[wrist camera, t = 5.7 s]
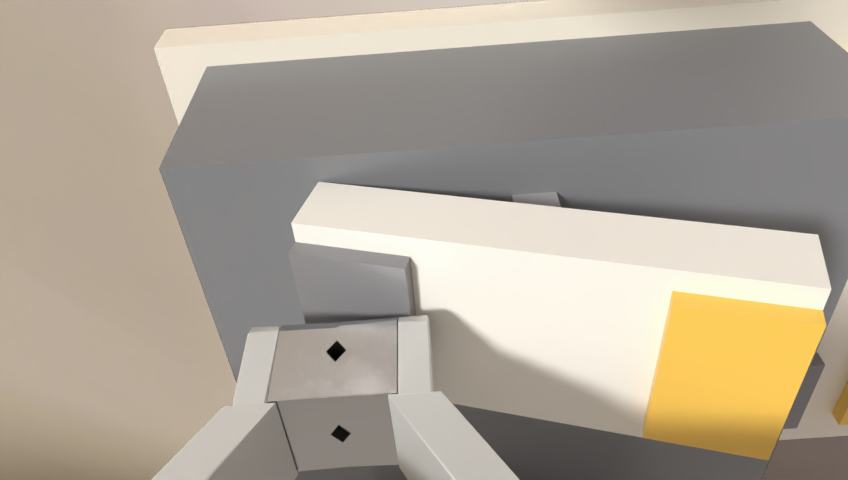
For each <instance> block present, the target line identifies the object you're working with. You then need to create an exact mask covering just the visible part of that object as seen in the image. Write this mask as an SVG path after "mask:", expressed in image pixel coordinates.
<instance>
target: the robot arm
mask: <svg viewBox="0 0 848 480" xmlns="http://www.w3.org/2000/svg"><path fill="white" fill-rule="evenodd" d="M379 465H399V468H400V469H401V471H402V472H403V474H404V475H405V477H406V478H407V480H519V478H518V477H517V476H516V475H515V474H514V473H513V472H512V471H511V469H510V468H509V467H508V466H507V465H506V464H505V463H504V461H503V460H502V459H501V458H500V457H499V456H498V455H497V454H496V452H495V451H494V450H493V449H492V448H491V447H490V446H489V444H488V443H487V442H486V441H485V440H484V439H483V438H482V436H481V435H480V434H479V433H478V432H477V431H476V430H475V429H474V427H473V426H472V425H471V424H470V423H469V422H468V421H467V419H466V418H465V417H464V416H463V415H462V414H461V413H460V412H459V410H458V409H457V408H456V407H455V406H454V405H453V404H452V402H451V401H450V400H449V399H448V398H447V397H446V396H445V394H444V393H443V392H442V391H436V392H435V384H434V373H433V361H432V349H431V337H430V326H429V317H428V315H422V316H409V317H399V319H398V317H397V318H384V319H372V320H360V321H347V322H340V323H320V324H299V325H282V326H268V327H252V328H251V330H250V332H249V333H248V335H247V340H246V344H245V349H244V353H243V358H242V362H241V367H240V371H239V376H238V380H237V385H236V389H235V394H234V398H233V403H232V405H231V406H223V407H222V408H221V409H220V410H219V411H218V412H217V413H216V414H215V415H214V416H213V417H212V418H211V419H210V420H209V421H208V422H207V423H206V424H205V425H204V426H203V427H202V428H201V429H200V430H199V431H198V432H197V433H196V434H195V435H194V436H193V437H192V438H191V439H190V440H189V441H188V442H187V444H186V445H185V446H184V447H183V448H182V449H181V450H180V451H179V452H178V453H177V454H176V455H175V456H174V457H173V458H172V459H171V460H170V461H169V462H168V463H167V464H166V465H165V466H164V467H163V468H162V469H161V470H160V471H159V472H158V473H157V474H156V475H155V476H154V477H153V478H152V479H151V480H295V478H296V477H297V475H298V473H297V472H298V471H308V470H319V469H329V468H340V467H354V466H379Z"/></svg>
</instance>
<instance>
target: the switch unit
mask: <svg viewBox="0 0 848 480" xmlns="http://www.w3.org/2000/svg"><path fill="white" fill-rule="evenodd" d="M154 50H155V53H156V56H157V59H158V62H159V65H160V69H161V72H162V75H163V78H164V81H165V84H166V87H167V90H168V93H169V96H170V99H171V102H172V106H173V109H174V112H175V115H176V118H177V121H178V124H179V127H178V129H177V131H176V133H175V135H174V138H173V140H172V142H171V144H170V146H169V148H168V150H167V153H166V155H165V157H164V159H163V161H162V163H161V165H160V167H159V170H160V172H161V175H162V178H163V181H164V184H165V186H166V189H167V192H168V195H169V197H170V200H171V203H172V206H173V208H174V211H175V214H176V217H177V220H178V222H179V225H180V228H181V231H182V233H183V236H184V239H185V242H186V244H187V247H188V250H189V253H190V256H191V258H192V261H193V264H194V267H195V269H196V272H197V275H198V278H199V280H200V283H201V286H202V289H203V292H204V294H205V297H206V300H207V303H208V305H209V308H210V311H211V314H212V316H213V319H214V322H215V325H216V328H217V330H218V333H219V336H220V339H221V341H222V344H223V347H224V350H225V352H226V355H227V358H228V361H229V364H230V366H231V369H232V372H233V375H234V377H235V380H236V383H237V380H238V376H239V371H240V367H241V362H242V358H243V353H244V349H245V344H246V340H247V335H248V333H249V332H250V330H251V328H252V327H268V326H282V325H299V324H305V320H304V316H303V312H302V308H301V304H300V300H299V295H298V291H297V287H296V283H295V279H294V275H293V271H292V267H291V263H290V259H289V255H288V253H289V251H290V250H291V248H292V247H293V245H294V243H295V238H294V233H293V229H292V225H291V222H292V221H293V219H294V218H295V216H296V215H297V213H298V212H299V210H300V209H301V207H302V206H303V204H304V203H305V201H306V200H307V198H308V197H309V195H310V194H311V192H312V191H313V189H314V188H315V186H316V185H317V183H318V182H326V183H335V184H345V185H354V186H364V187H373V188H383V189H392V190H402V191H411V192H420V193H430V194H439V195H449V196H458V197H468V198H477V199H487V200H496V201H505V202H515V203H524V204H534V205H543V206H553V207H562V208H572V209H581V210H591V211H600V212H609V213H619V214H628V215H638V216H647V217H657V218H666V219H676V220H685V221H694V222H704V223H713V224H723V225H732V226H742V227H751V228H761V229H770V230H779V231H789V232H798V233H808V234H817V235H818V236H819V240H820V244H821V248H822V252H823V256H824V260H825V264H826V268H827V272H828V276H829V280H830V285H831V289H832V290H831V292H830V294H829V297H828V299H827V302H826V304H825V306H824V309H823V313H824V317H825V321H826V328H825V330H824V332H823V335H822V337H821V339H820V342H819V344H818V346H817V349H816V351H815V353H814V356H813V358H812V360H811V363H810V365H809V367H808V370H807V372H806V374H805V377H804V379H803V381H802V384H801V386H800V388H799V391H798V393H797V395H796V398H795V400H794V402H793V405H792V407H791V409H790V412H789V414H788V416H787V419H786V421H785V423H784V426H783V428H782V430H781V433H780V435H779V437H778V440H791V439H806V438H821V437H836V436H848V0H546V1H533V2H519V3H506V4H493V5H480V6H467V7H454V8H441V9H427V10H414V11H401V12H388V13H375V14H362V15H348V16H335V17H322V18H309V19H296V20H283V21H270V22H256V23H243V24H230V25H217V26H204V27H191V28H178V29H166V30H165V31H164V33H163V34H162V36H161V38H160V39H159V41H158V42H157V44H156V46H155V47H154ZM453 405H454V406H455V407H456V408H457V409H458V410H459V412H460V413H461V414H462V415H463V416H464V417H465V418H466V419H467V421H468V422H469V423H470V424H471V425H472V426H473V427H474V429H475V430H476V431H477V432H478V433H479V434H480V435H481V436H482V438H483V439H484V440H485V441H486V442H487V443H488V444H489V446H490V447H491V448H492V449H493V450H494V451H495V452H496V454H497V455H498V456H499V457H500V458H501V459H502V460H503V461H504V463H505V464H506V465H507V466H508V467H509V468H510V469H511V471H512V472H513V473H514V474H515V475H516V476H517V477H518V478H519V480H762V477H763V475H764V473H765V470H766V468H767V466H768V463H769V461H770V459H771V456H772V454H773V452H774V449H775V447H776V445H777V442H778V440H777V442H776V444H775V447H774V449H773V451H772V454H771V456H770V458H769V460H763V459H757V458H752V457H746V456H741V455H735V454H730V453H724V452H718V451H713V450H707V449H702V448H696V447H691V446H685V445H679V444H674V443H668V442H663V441H657V440H652V439H646V438H642V437H636V436H630V435H625V434H619V433H614V432H608V431H603V430H597V429H591V428H586V427H580V426H575V425H569V424H564V423H558V422H553V421H547V420H541V419H536V418H530V417H525V416H519V415H514V414H508V413H502V412H497V411H491V410H486V409H480V408H475V407H469V406H463V405H458V404H453ZM297 473H298V475H297V477H296V478H295V480H407V478H406V477H405V475H404V474H403V472H402V471H401V469H400V468H399V465H379V466H354V467H340V468H329V469H319V470H308V471H298V472H297Z"/></svg>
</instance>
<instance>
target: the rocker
mask: <svg viewBox="0 0 848 480" xmlns="http://www.w3.org/2000/svg"><path fill="white" fill-rule="evenodd" d="M291 225H292V229H293V233H294V238H295V243H294V245H293V247H292V248H291V250H290V251H289V253H288V255H289V259H290V263H291V267H292V271H293V275H294V279H295V283H296V287H297V291H298V295H299V300H300V304H301V308H302V312H303V316H304V320H305V324H320V323H340V322H347V321H360V320H372V319H384V318H397V317H398V319H399V317H409V316H422V315H428V317H429V326H430V337H431V349H432V361H433V373H434V384H435V392H436V391H442V392H443V393H444V394H445V396H446V397H447V398H448V399H449V400H450V401H451V402H452V404H458V405H463V406H469V407H475V408H480V409H486V410H491V411H497V412H502V413H508V414H514V415H519V416H525V417H530V418H536V419H541V420H547V421H553V422H558V423H564V424H569V425H575V426H580V427H586V428H591V429H597V430H603V431H608V432H614V433H619V434H625V435H630V436H636V437H642V438H646V439H652V440H657V441H663V442H668V443H674V444H679V445H685V446H691V447H696V448H702V449H707V450H713V451H718V452H724V453H730V454H735V455H741V456H746V457H752V458H757V459H763V460H769V458H770V456H771V454H772V451H773V449H774V447H775V444H776V442H777V440H778V437H779V435H780V433H781V430H782V428H783V426H784V423H785V421H786V419H787V416H788V414H789V412H790V409H791V407H792V405H793V402H794V400H795V398H796V395H797V393H798V391H799V388H800V386H801V384H802V381H803V379H804V377H805V374H806V372H807V370H808V367H809V365H810V363H811V360H812V358H813V356H814V353H815V351H816V349H817V346H818V344H819V342H820V339H821V337H822V335H823V332H824V330H825V328H826V321H825V317H824V313H823V309H824V306H825V304H826V302H827V299H828V297H829V294H830V292H831V290H832V289H831V285H830V280H829V276H828V272H827V268H826V264H825V260H824V256H823V252H822V248H821V244H820V240H819V236H818V235H817V234H808V233H798V232H789V231H779V230H770V229H761V228H751V227H742V226H732V225H723V224H713V223H704V222H694V221H685V220H676V219H666V218H657V217H647V216H638V215H628V214H619V213H609V212H600V211H591V210H581V209H572V208H562V207H553V206H543V205H534V204H524V203H515V202H505V201H496V200H487V199H477V198H468V197H458V196H449V195H439V194H430V193H420V192H411V191H402V190H392V189H383V188H373V187H364V186H354V185H345V184H335V183H326V182H318V183H317V185H316V186H315V188H314V189H313V191H312V192H311V194H310V195H309V197H308V198H307V200H306V201H305V203H304V204H303V206H302V207H301V209H300V210H299V212H298V213H297V215H296V216H295V218H294V219H293V221H292V222H291Z"/></svg>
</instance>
